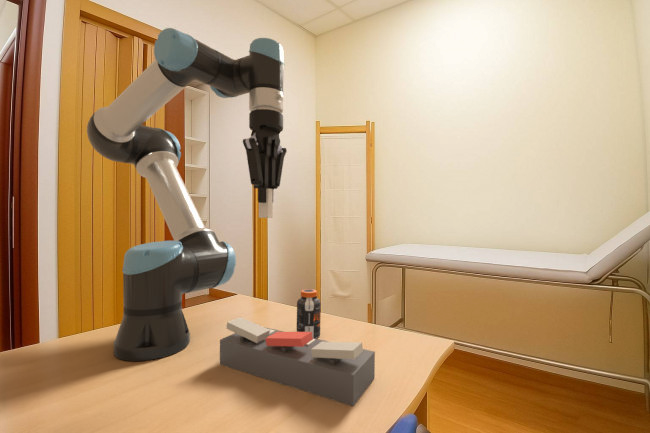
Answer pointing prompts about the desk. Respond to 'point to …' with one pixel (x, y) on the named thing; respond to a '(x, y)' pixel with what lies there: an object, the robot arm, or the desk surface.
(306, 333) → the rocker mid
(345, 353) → the block
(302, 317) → the pill bottle
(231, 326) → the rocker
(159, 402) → the desk surface
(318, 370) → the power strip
